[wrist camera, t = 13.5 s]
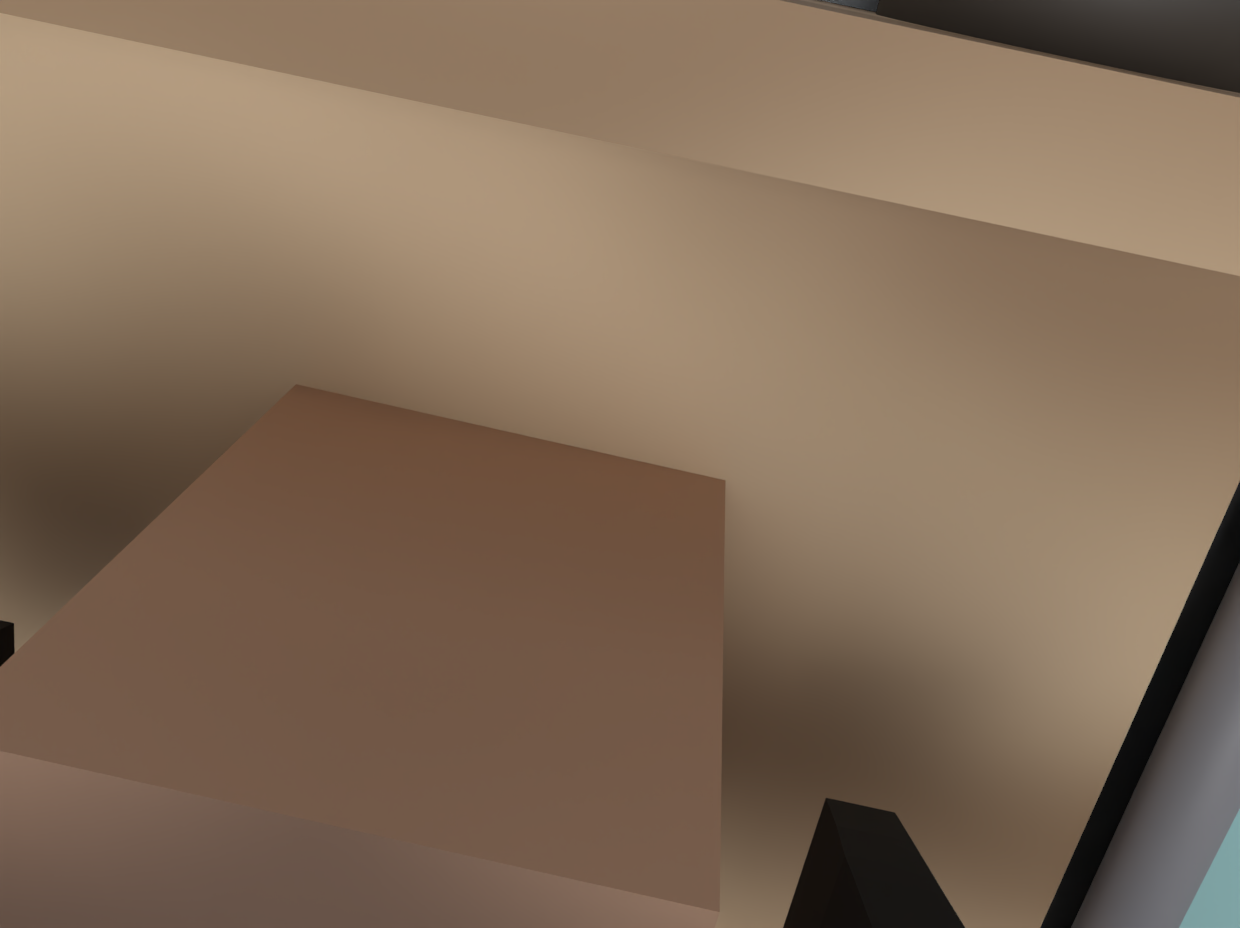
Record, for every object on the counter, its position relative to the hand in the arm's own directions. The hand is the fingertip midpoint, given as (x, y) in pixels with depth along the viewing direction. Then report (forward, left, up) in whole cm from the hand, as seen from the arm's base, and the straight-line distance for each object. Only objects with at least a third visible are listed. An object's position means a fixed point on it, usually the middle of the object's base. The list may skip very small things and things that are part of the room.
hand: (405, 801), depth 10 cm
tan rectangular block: (0, 0, -3) cm, 3 cm away
